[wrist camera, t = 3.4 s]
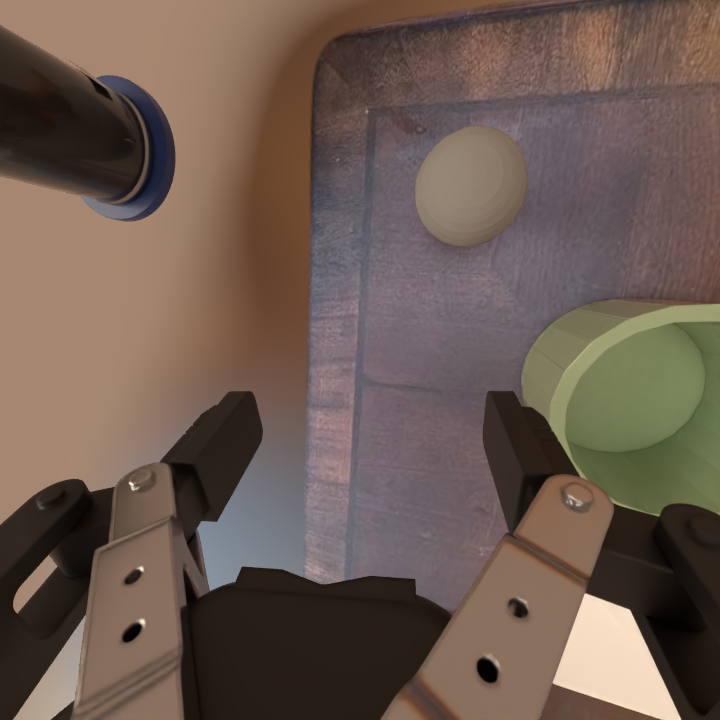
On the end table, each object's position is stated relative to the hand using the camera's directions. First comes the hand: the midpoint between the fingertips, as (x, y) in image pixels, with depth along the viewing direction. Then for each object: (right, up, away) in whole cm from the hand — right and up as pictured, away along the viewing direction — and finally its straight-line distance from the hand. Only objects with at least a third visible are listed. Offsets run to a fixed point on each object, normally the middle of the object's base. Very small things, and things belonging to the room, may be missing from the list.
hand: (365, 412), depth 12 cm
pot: (+18, 0, +12) cm, 22 cm away
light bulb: (+7, +12, +13) cm, 19 cm away
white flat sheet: (+25, -18, +15) cm, 34 cm away
